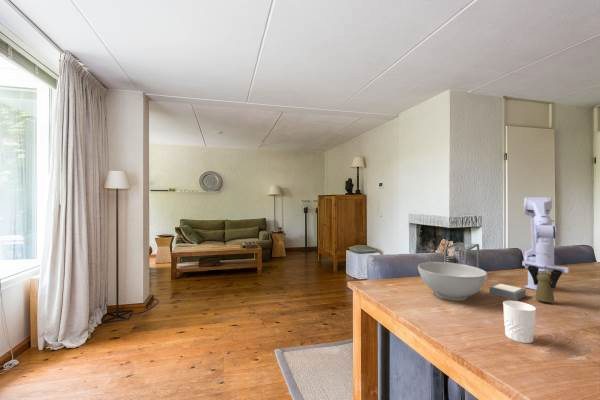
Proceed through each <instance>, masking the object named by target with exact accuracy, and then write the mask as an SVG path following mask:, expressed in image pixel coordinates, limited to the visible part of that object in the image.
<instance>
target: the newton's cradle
mask: <svg viewBox="0 0 600 400" xmlns="http://www.w3.org/2000/svg"><path fill="white" fill-rule="evenodd" d="M465 245H467V246H465ZM474 248H476V268H480V245H479V243H471V244H470V243H467V242H460V241H458V242H455V243H453V244H449V245H448V246H445V248H444V250H443V256H444V257H443V262H447V258H448V257H447V256H448V255H447V251H448V250H453V252H454V254H456V253H458V254H456V255H454V258H455V259H457V258H456V256H457V257H458V262H457V260H455V261H456V263H457V264H463V265H468V260H469V259H468V258H469V256H470V254H469V253H471V250H473V249H474ZM455 251H456V252H455ZM462 253H463V254H462Z"/></svg>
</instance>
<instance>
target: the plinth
mask: <svg viewBox="0 0 600 400" xmlns="http://www.w3.org/2000/svg"><path fill="white" fill-rule="evenodd" d="M526 291H527V290H526V288H522V287H517V286H514V285H508V284H505V283H504V284H503V283H498V284H494V285H491V286H489V294H490V295H494V296H497V297H501V298H505V299H509V300H511V301H518V300H520V299H523V298H525V297H526Z"/></svg>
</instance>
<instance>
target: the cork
mask: <svg viewBox="0 0 600 400" xmlns="http://www.w3.org/2000/svg"><path fill="white" fill-rule="evenodd" d="M536 277H537V280H538V284H537V290H535V297H534V298H535V300H538V301H539V302H544V303H545V302H546V303H555V302H556V301H555V295H554V290H553V288H552V276H551V273H549V274H547V273H538V274H537V275H536Z"/></svg>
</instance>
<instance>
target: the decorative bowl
mask: <svg viewBox="0 0 600 400" xmlns="http://www.w3.org/2000/svg"><path fill="white" fill-rule="evenodd" d="M463 264H464V263H463ZM463 264H462V263H461V264H459V263H458V262H457V263H455V262H444V261H426V262H422V263H419V264H418V265H417V269H418V272H419V273H418V274H419V275H420V278H421V279H422V282H424V284H425V285H426V286H427V287H428V288H429V289H430V290H432V291H433V293H434V295H435V296H436V297H439V298H440V299H444V300H447V301H455V302H459V301H460V302H461V301H462V302H464V301H467V299H468V297H471V296H473V295H475V294H476V293H478V292H479V291H480V290H481V288H482V287H484V284H485V282H486V281H487V278H488V272H487V271H486V270H484V269H482V268H480V267H479V268H477V266H473V265H468V264H467V265H463Z"/></svg>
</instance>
